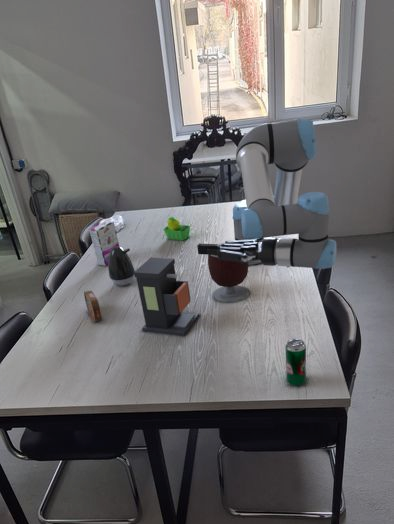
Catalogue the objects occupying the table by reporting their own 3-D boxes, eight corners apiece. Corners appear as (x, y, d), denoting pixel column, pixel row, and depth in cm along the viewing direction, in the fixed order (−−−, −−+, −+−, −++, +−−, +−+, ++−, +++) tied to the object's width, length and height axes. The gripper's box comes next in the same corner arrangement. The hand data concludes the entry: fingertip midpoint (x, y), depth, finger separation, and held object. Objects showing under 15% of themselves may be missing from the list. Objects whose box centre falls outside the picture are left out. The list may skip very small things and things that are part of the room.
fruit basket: (192, 236, 230) (189, 212, 224) (182, 242, 224) (178, 219, 218) (173, 234, 235) (169, 211, 229) (162, 240, 229) (158, 217, 223)
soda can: (284, 376, 130) (283, 339, 123) (303, 374, 130) (303, 336, 123) (289, 388, 126) (288, 349, 119) (308, 385, 126) (308, 346, 119)
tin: (86, 308, 178) (81, 288, 174) (95, 306, 179) (89, 285, 175) (95, 326, 166) (90, 304, 162) (104, 323, 167) (99, 301, 163)
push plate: (190, 302, 159) (187, 282, 155) (180, 313, 153) (177, 294, 149) (186, 301, 159) (183, 282, 155) (176, 313, 153) (173, 293, 149)
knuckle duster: (101, 223, 263) (128, 220, 262) (96, 235, 248) (124, 231, 247) (100, 217, 261) (127, 214, 261) (94, 228, 246) (122, 225, 246)
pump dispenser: (132, 288, 189) (124, 251, 180) (107, 288, 191) (99, 252, 183) (140, 277, 197) (133, 241, 189) (116, 277, 199) (108, 242, 191)
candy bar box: (113, 255, 221) (105, 220, 212) (122, 256, 218) (114, 221, 210) (97, 265, 213) (88, 229, 204) (105, 266, 211) (97, 230, 202)
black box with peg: (199, 315, 164) (191, 258, 152) (183, 335, 154) (174, 276, 143) (159, 312, 169) (149, 256, 158) (142, 331, 160) (130, 273, 148)
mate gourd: (229, 282, 182) (225, 231, 171) (258, 291, 173) (255, 238, 163) (200, 299, 174) (193, 246, 163) (229, 309, 165) (223, 254, 154)
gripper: (271, 274, 130) (191, 269, 139) (283, 255, 140) (208, 252, 149) (270, 248, 126) (188, 245, 135) (283, 230, 136) (205, 228, 145)
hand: (198, 248), depth 142 cm, fingers closed
